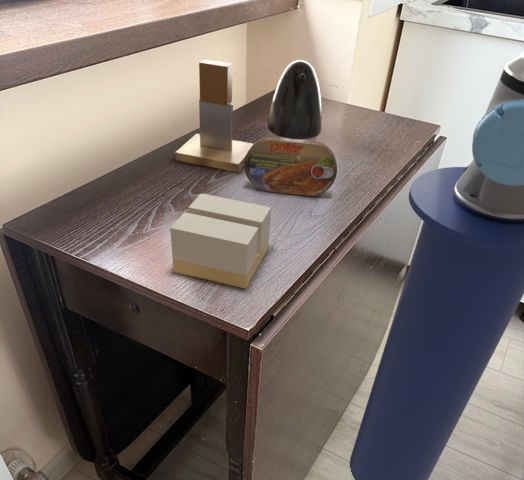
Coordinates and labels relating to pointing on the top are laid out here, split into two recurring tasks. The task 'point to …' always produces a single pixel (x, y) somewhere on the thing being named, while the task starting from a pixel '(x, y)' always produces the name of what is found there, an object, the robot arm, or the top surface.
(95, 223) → the top surface
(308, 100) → the black white dome
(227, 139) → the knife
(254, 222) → the slotted card holder
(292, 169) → the tin
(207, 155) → the board
